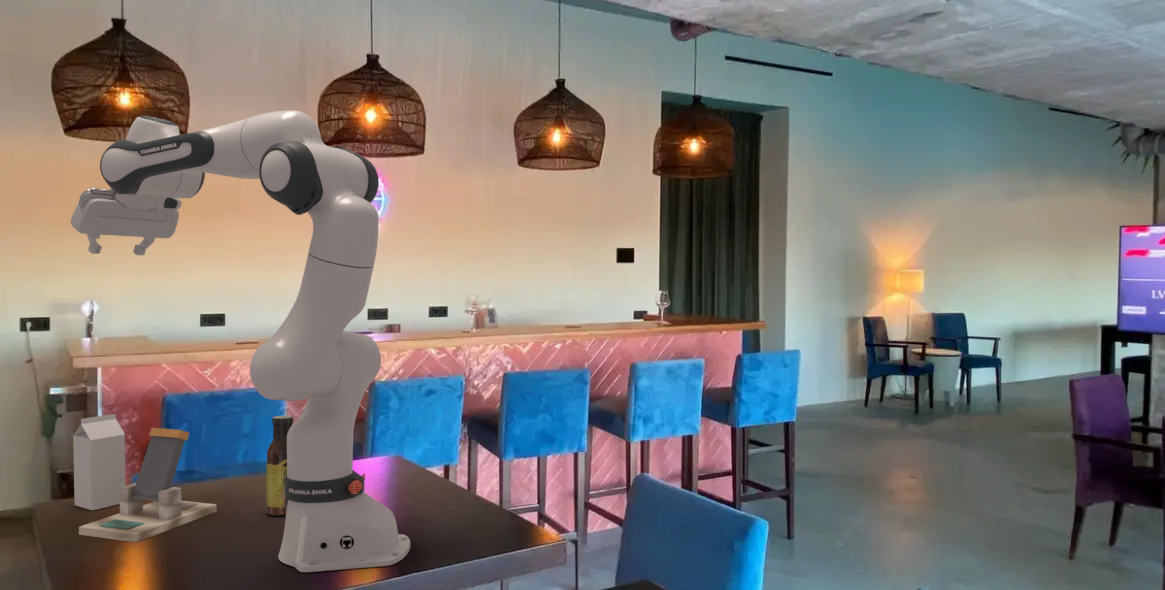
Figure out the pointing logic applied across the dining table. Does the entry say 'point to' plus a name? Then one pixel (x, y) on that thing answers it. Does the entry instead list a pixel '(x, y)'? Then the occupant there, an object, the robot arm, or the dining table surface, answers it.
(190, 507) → the switch base
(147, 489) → the rocker lever
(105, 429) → the milk carton
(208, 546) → the dining table surface
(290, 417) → the sauce bottle
